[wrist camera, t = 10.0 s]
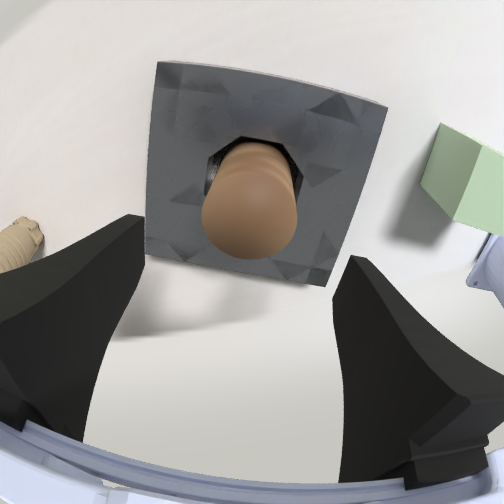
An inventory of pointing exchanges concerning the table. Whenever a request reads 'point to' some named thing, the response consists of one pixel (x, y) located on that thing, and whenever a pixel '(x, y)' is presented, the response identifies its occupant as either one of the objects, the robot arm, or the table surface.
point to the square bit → (466, 180)
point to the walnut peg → (251, 201)
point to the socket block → (266, 128)
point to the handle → (19, 244)
